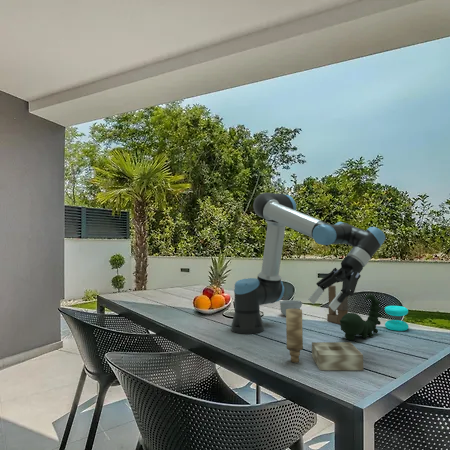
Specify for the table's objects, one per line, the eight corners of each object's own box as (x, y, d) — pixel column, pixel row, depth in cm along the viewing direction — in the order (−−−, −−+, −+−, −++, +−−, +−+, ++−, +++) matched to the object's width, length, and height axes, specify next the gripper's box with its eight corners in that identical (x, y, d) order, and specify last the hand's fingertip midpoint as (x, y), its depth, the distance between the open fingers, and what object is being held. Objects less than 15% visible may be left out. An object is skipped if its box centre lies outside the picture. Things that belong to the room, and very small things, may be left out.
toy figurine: (367, 334, 171) (330, 338, 157) (368, 292, 172) (331, 293, 158) (386, 339, 163) (348, 344, 149) (387, 295, 164) (350, 296, 151)
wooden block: (343, 325, 181) (342, 288, 182) (327, 321, 191) (326, 285, 191) (348, 324, 183) (347, 287, 183) (332, 320, 192) (331, 285, 193)
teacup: (287, 318, 197) (286, 303, 197) (276, 314, 207) (276, 300, 207) (309, 316, 202) (308, 301, 203) (297, 312, 212) (297, 298, 212)
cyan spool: (399, 304, 180) (412, 308, 170) (399, 325, 179) (413, 331, 170) (380, 305, 178) (392, 309, 168) (380, 326, 178) (393, 332, 168)
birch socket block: (320, 370, 123) (319, 354, 123) (312, 356, 137) (311, 342, 137) (363, 370, 123) (362, 354, 123) (350, 356, 137) (350, 342, 137)
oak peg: (287, 364, 129) (286, 311, 130) (285, 358, 135) (284, 308, 135) (304, 364, 129) (303, 311, 129) (301, 358, 135) (300, 308, 135)
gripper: (384, 271, 129) (348, 319, 125) (341, 266, 153) (309, 305, 148) (371, 256, 128) (334, 304, 123) (329, 253, 152) (297, 293, 147)
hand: (320, 305), depth 136 cm, fingers open, 13 cm apart
